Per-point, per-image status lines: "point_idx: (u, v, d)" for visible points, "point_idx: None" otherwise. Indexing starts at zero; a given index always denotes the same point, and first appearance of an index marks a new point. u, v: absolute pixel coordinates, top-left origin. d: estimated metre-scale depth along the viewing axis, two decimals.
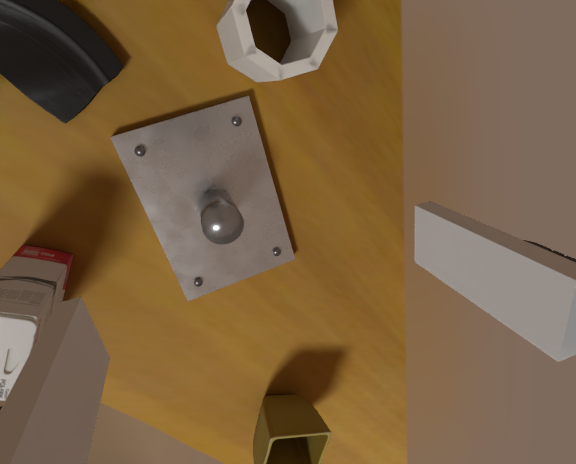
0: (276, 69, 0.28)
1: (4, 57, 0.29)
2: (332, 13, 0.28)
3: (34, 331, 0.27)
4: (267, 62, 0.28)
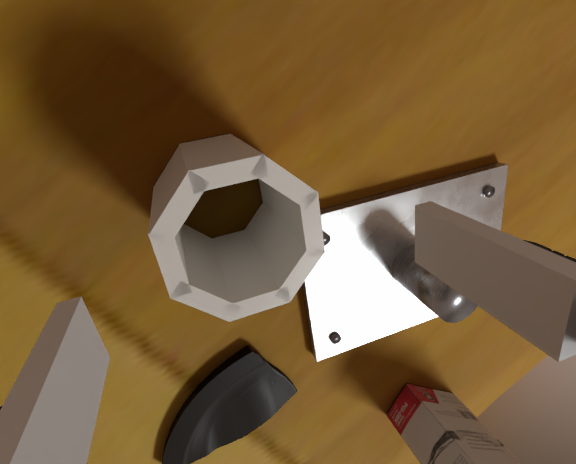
0: (310, 258, 0.18)
1: (239, 428, 0.33)
2: (237, 164, 0.15)
3: None
4: (300, 271, 0.18)
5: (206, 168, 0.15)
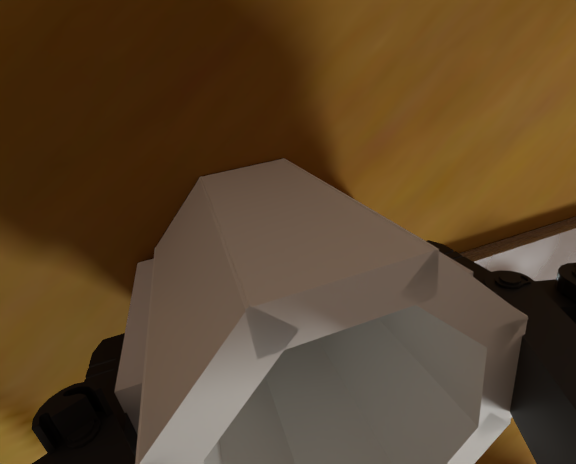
0: (482, 439, 0.09)
1: None
2: (372, 279, 0.06)
3: None
4: None
5: (295, 295, 0.05)
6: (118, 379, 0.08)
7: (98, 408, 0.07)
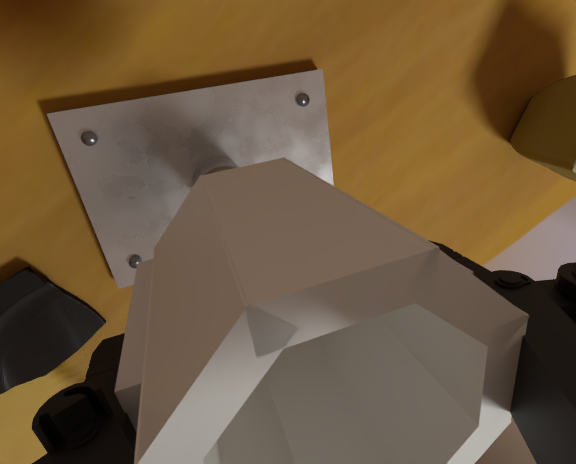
0: (482, 438, 0.09)
1: (39, 363, 0.30)
2: (372, 277, 0.06)
3: None
4: None
5: (295, 293, 0.05)
6: (118, 379, 0.08)
7: (98, 408, 0.07)
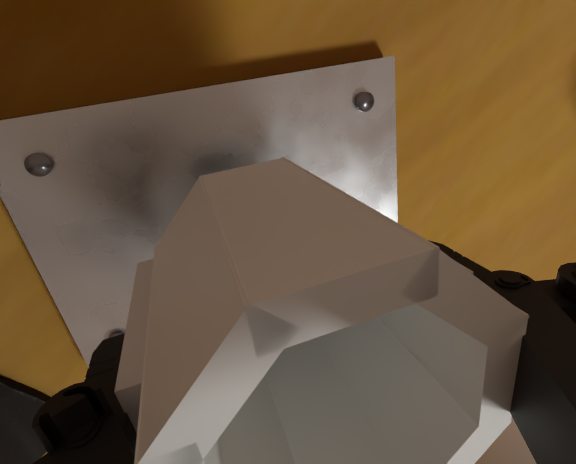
0: (482, 438, 0.09)
1: None
2: (372, 277, 0.06)
3: None
4: None
5: (295, 293, 0.05)
6: (118, 379, 0.08)
7: (98, 408, 0.07)
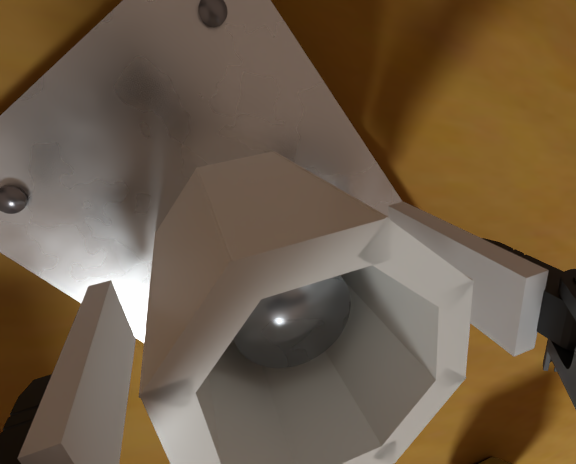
0: (440, 391, 0.10)
1: None
2: (333, 241, 0.07)
3: None
4: (420, 414, 0.10)
5: (269, 252, 0.07)
6: (27, 440, 0.07)
7: None
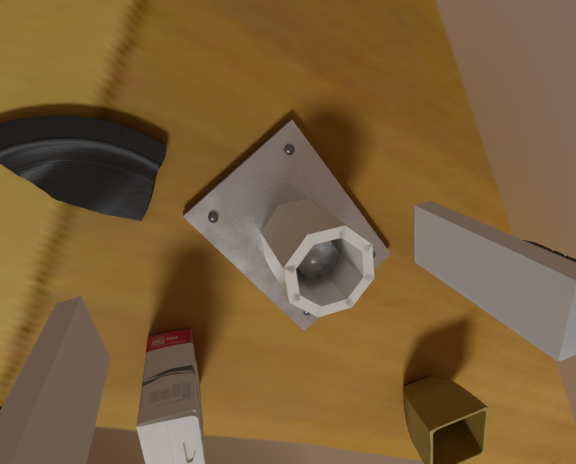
0: (365, 281, 0.31)
1: (70, 189, 0.31)
2: (331, 230, 0.28)
3: (198, 422, 0.29)
4: (359, 289, 0.31)
5: (316, 233, 0.28)
6: None
7: None
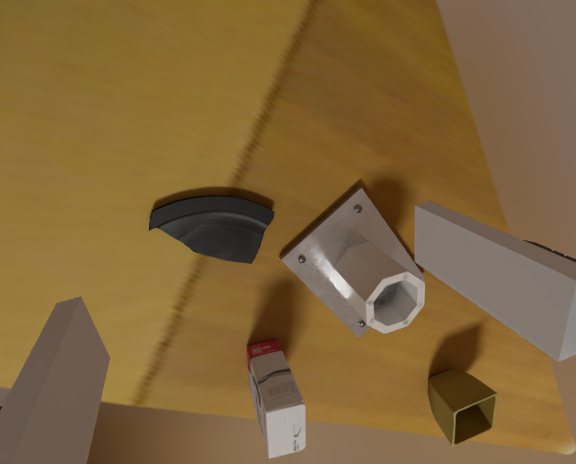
0: (418, 307, 0.44)
1: (206, 245, 0.43)
2: (398, 275, 0.41)
3: (305, 409, 0.41)
4: (413, 313, 0.44)
5: (388, 277, 0.40)
6: None
7: None
